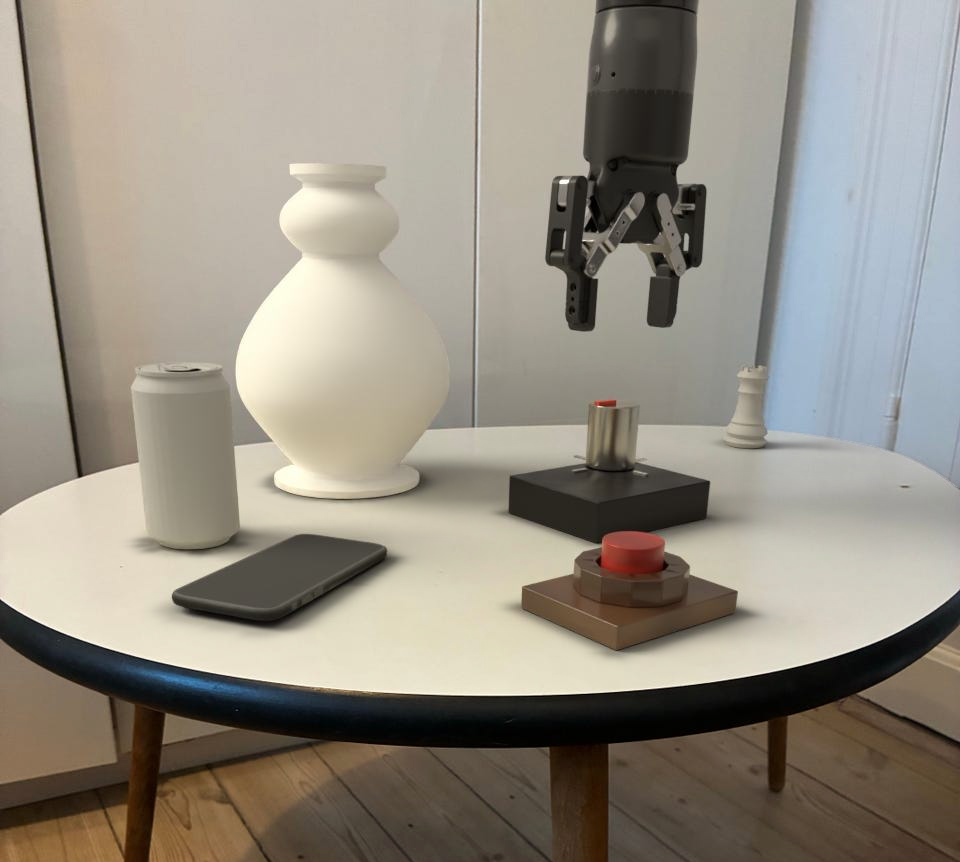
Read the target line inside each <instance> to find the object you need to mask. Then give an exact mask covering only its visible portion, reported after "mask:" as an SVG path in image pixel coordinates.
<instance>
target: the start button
mask: <svg viewBox="0 0 960 862" xmlns="http://www.w3.org/2000/svg"><path fill="white" fill-rule="evenodd" d="M601 547H602V554H601V567H602V568H605V569H607V570H610V571H613V572H619V573H626V574H653V573H657V572H660V571H662V570H663V562H664V551H665V549H666V540H665V539H664V538H662V537H661V536H659V535H656V534H653V533H650V532H649V533H648V532H635V531H621V532H614V533H610V534H607V535H605V536H604V537H603V539H602V542H601ZM665 552H666V551H665Z"/></svg>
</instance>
